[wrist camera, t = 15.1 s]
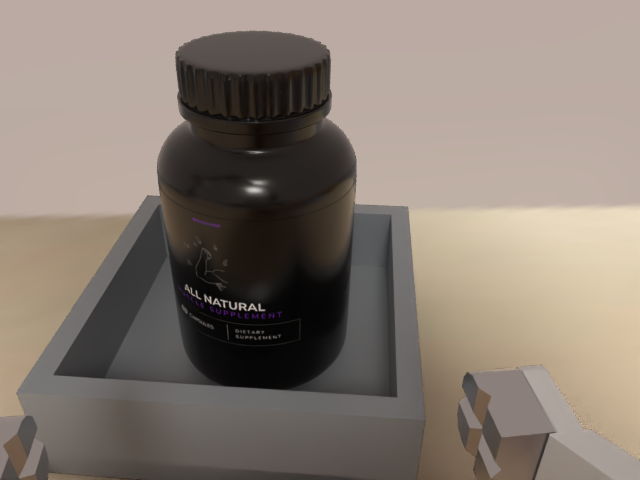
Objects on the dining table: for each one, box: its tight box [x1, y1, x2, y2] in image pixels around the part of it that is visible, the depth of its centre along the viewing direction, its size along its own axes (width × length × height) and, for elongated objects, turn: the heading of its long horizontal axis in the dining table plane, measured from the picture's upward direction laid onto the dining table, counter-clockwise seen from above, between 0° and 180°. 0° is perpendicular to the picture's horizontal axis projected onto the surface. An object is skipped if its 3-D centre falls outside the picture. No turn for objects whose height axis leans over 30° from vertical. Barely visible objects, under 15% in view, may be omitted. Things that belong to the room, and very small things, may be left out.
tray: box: [16, 196, 425, 480], centre depth 24 cm, size 13×13×4 cm
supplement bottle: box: [157, 31, 356, 390], centre depth 22 cm, size 7×7×12 cm
